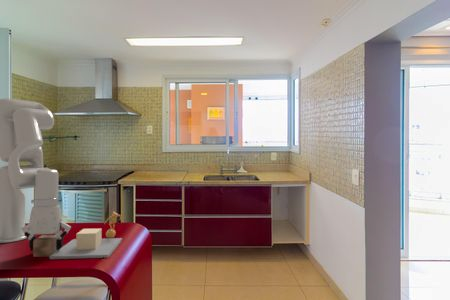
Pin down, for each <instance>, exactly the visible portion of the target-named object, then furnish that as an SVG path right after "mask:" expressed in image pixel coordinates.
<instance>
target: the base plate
mask: <svg viewBox="0 0 450 300" xmlns="http://www.w3.org/2000/svg"><path fill="white" fill-rule="evenodd" d="M102 231H103V230H102V227H101V228H82V229H80V230H79V232H77V233H76V234H75V235H76V236H75V237H76V238H74V239H71V240H70V241H69V242H67V243H66V244H64V245H63V246H62V248H61V249H59V250H58V251H56V252H55V253H53V254H52V255H51V256H49V260H68V259H72V260H73V259H100V258H101V259H103V257H104V259H105V258H109V257H110V256H111V255H112V253H113V252H114V251H115V250H116V249H117V248H118V246H119V245H120V244H121V242H122V241H123V238H122V237H120V238H119V237H116V238H115V237H113V238H107V237H106V238H105V237H104V238H102V235H103V234H102V233H103V232H102Z"/></svg>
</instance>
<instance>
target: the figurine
mask: <svg viewBox="0 0 450 300" xmlns="http://www.w3.org/2000/svg"><path fill="white" fill-rule="evenodd" d="M118 217H119V219H118V220H119V221H122V215H121V214H118V213H117V212H115V211H114V210H113V211H112V213H111V216H109V217H108V218H107V219H106V220H105V221H104V225H105V224H106V223H107V222H108V221H109V220H110V219H111V220H110V222H109V223H108V225H109V227H110V228H108V230H107V231H106V232H105V236H106V238H115V236H116V233H117V232H116V230H115V226H116V225H115V223H116V222H117V218H118Z"/></svg>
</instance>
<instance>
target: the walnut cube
mask: <svg viewBox="0 0 450 300" xmlns="http://www.w3.org/2000/svg"><path fill="white" fill-rule="evenodd" d="M36 238H37V239H35V240H33V251H32V252H33V253H32V254H33V255H32V257H33V258H34V257H41V258H43V257H50V256H51V255H52V254H53V253H55V252H56V251H58V250H56V240H57V239H58V238H57V237H56V235H55V234H51V235H40V236H39V237H36Z"/></svg>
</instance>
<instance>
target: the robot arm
mask: <svg viewBox="0 0 450 300" xmlns="http://www.w3.org/2000/svg"><path fill="white" fill-rule="evenodd" d="M54 125H55V117H54V115H53V113H52V112H51V110H49V108H47V107H46V106H44V105H43V104H42V103H40V102H37V101H31V100H30V101H29V100H22V99H16V98H0V160H1V161H2V162H5V163H7V165H3V166H1V167H0V244H2V243H3V244H4V243H5V244H6V243H13V242H14V243H15V242H19V241H22V240H25V239H27V240H28V241H29V251H30V252H33V240H35V239H37V238H38V237H36V236H39V235H40V236H42V235H56V237H57V238H58V239H57V240H56V250H59V249H61V248H62V247H63V246H64V237H65V236H67V235H68V233H69V231H70V230H71V229H72V226H71V225H69V224H67V223H66V222H64V221H63V214H62V209H61V205H60V204H59V172H58V170H57V169H51V168H49V167H44V153H43V148H42V146H43V144H44V140H43V135H42V131H41V130H45V131H49V130H52V128H53V127H54ZM20 163H28V164H20ZM23 189H25V190H26V189H34V199H31V200H30V202H31V204H33V205H34V206H32V207H31V210H30V215H29V222H28V224H26V197H25V194H24V193H23V191H21V190H23ZM63 229H64V230H63ZM62 230H63V231H62Z"/></svg>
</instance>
